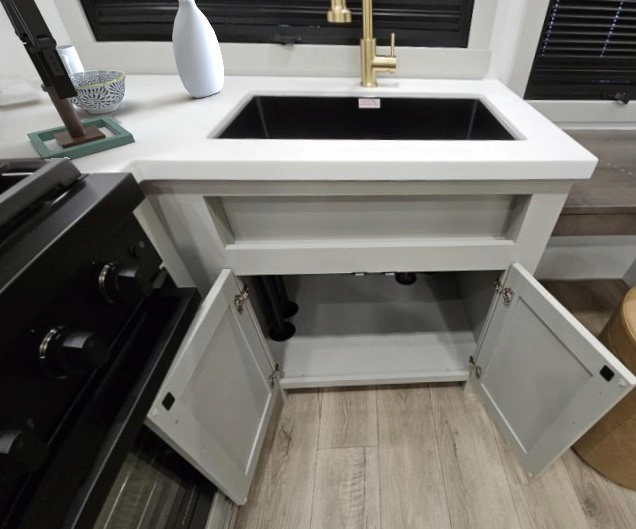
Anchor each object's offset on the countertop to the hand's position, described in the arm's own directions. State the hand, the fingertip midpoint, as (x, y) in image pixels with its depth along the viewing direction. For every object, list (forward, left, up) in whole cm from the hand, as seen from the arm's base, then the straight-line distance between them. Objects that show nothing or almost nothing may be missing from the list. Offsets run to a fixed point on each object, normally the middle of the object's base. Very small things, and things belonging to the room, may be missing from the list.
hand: (61, 91), depth 57 cm
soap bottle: (-21, +36, -11) cm, 43 cm away
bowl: (-27, +10, -11) cm, 31 cm away
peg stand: (-8, 0, -11) cm, 14 cm away
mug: (-42, +9, -11) cm, 44 cm away
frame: (-8, 0, -11) cm, 14 cm away
